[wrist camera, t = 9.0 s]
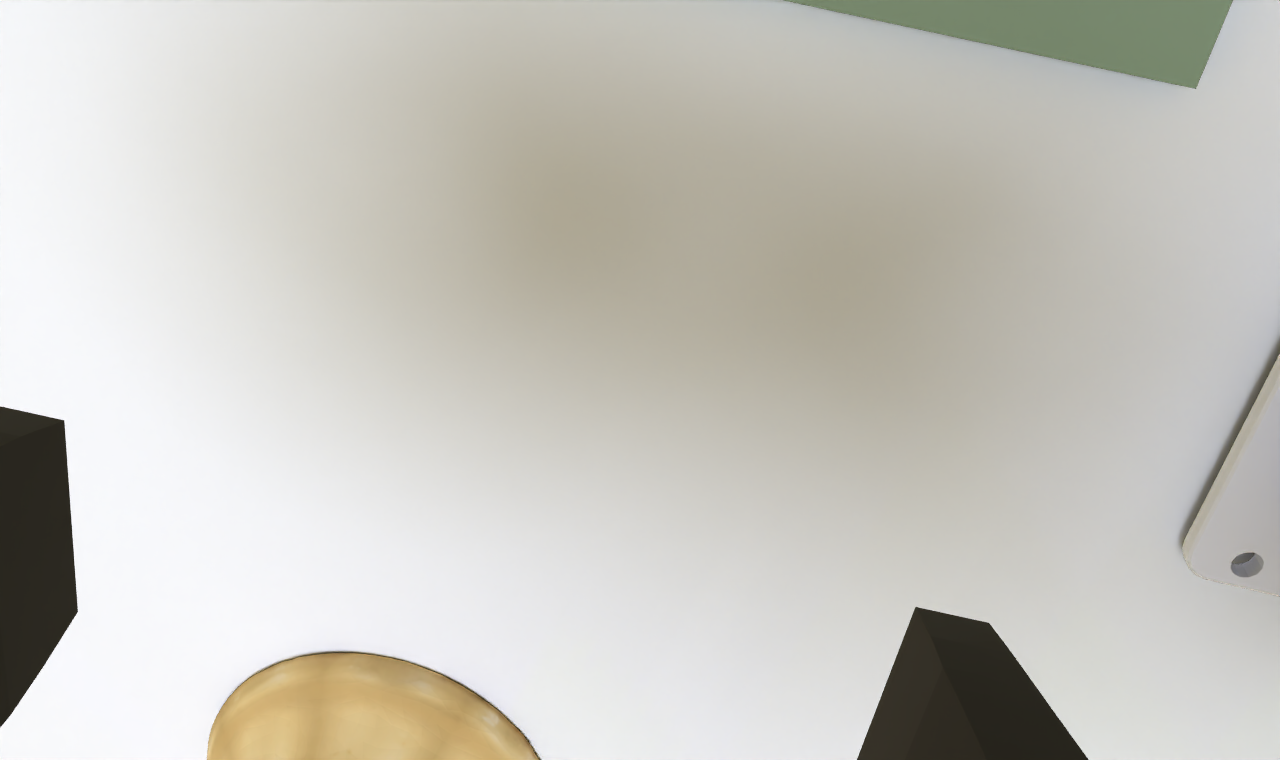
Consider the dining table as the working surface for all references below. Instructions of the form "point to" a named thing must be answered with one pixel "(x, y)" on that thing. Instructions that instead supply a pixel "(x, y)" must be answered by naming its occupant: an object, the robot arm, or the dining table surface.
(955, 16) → the pitch mat
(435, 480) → the dining table surface
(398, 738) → the hand bell
